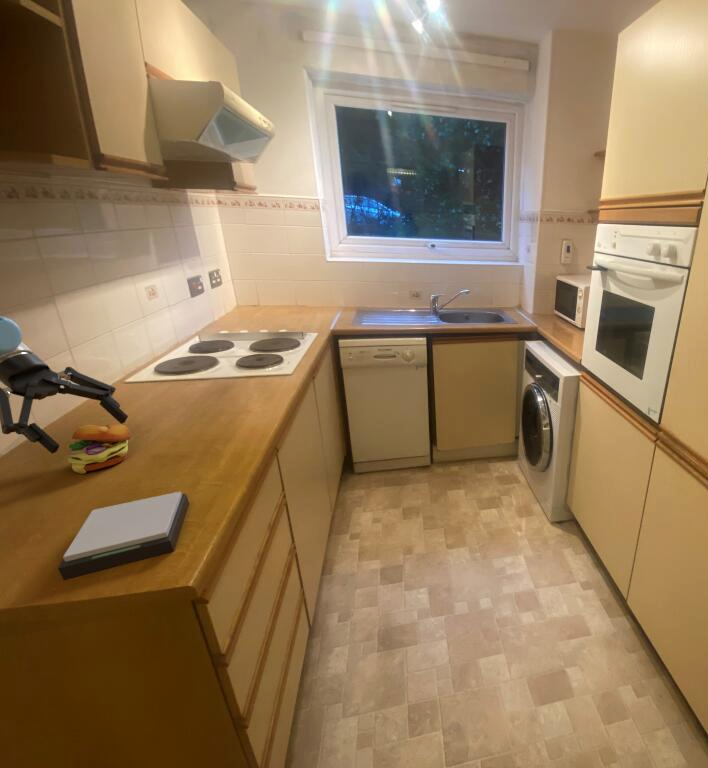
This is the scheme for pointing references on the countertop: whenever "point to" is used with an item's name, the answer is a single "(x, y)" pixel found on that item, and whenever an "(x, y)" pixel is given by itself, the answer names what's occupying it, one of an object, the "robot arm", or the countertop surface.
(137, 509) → the kitchen scale
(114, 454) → the cheeseburger
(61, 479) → the countertop surface
